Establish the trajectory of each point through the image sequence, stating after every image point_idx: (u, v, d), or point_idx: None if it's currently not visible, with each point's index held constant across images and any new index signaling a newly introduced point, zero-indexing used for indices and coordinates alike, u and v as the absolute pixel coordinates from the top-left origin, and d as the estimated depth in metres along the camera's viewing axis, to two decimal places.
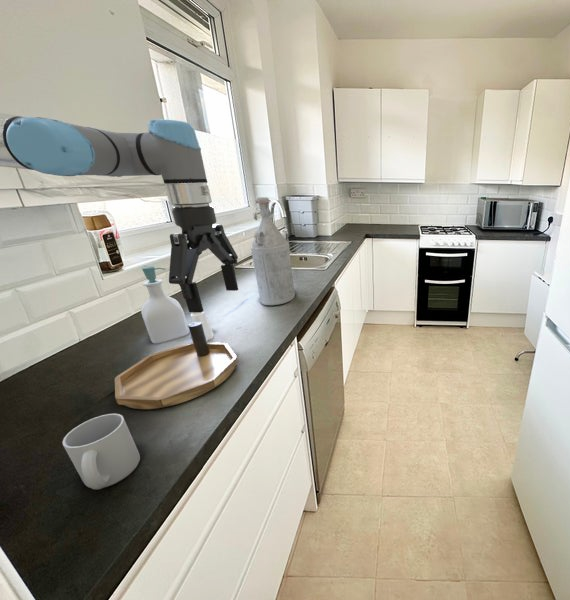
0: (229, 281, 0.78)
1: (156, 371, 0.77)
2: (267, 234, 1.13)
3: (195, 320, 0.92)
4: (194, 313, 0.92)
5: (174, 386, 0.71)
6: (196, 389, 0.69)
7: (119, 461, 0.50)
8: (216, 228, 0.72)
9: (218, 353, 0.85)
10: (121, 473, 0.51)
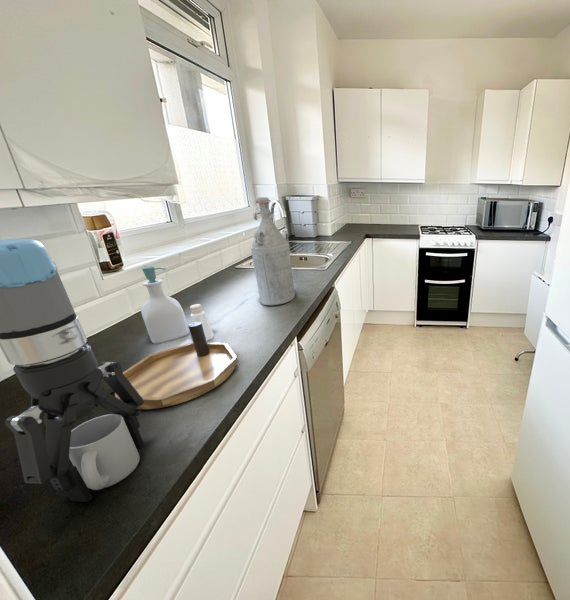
0: None
1: (156, 371, 0.77)
2: (267, 234, 1.13)
3: (195, 320, 0.92)
4: (194, 313, 0.92)
5: (174, 386, 0.71)
6: (196, 389, 0.69)
7: (119, 461, 0.50)
8: (108, 368, 0.50)
9: (218, 353, 0.85)
10: (121, 473, 0.51)
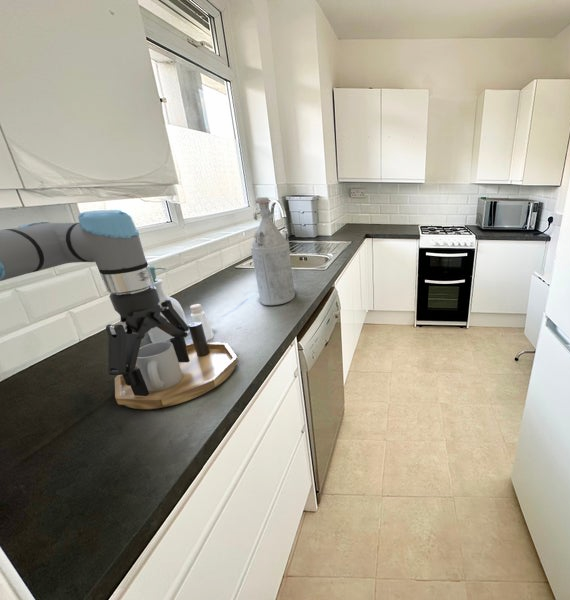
0: (179, 354, 0.76)
1: None
2: (267, 234, 1.13)
3: (195, 320, 0.92)
4: (194, 313, 0.92)
5: (174, 386, 0.71)
6: (196, 389, 0.69)
7: (170, 372, 0.70)
8: (163, 304, 0.71)
9: (218, 353, 0.85)
10: (171, 382, 0.71)
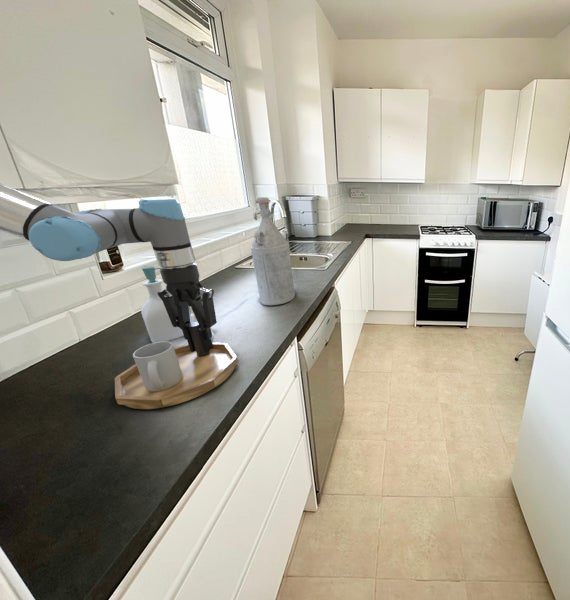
0: None
1: None
2: (267, 234, 1.13)
3: (195, 320, 0.92)
4: None
5: (174, 386, 0.71)
6: (196, 389, 0.69)
7: (170, 372, 0.70)
8: (204, 292, 0.77)
9: (218, 353, 0.85)
10: (171, 382, 0.71)
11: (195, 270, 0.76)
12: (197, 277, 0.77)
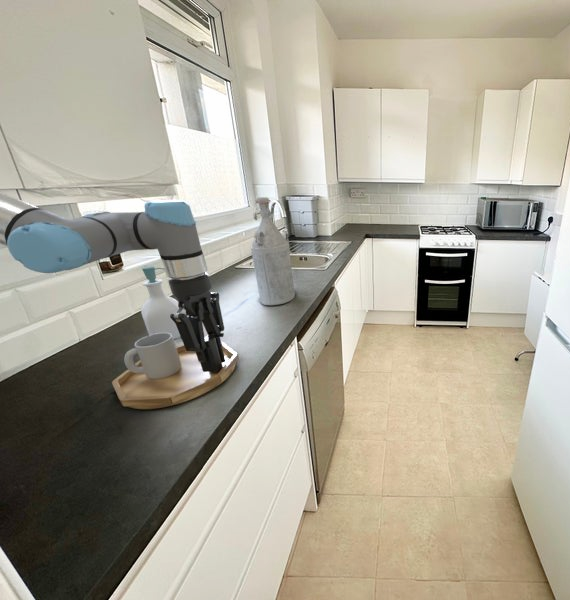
0: None
1: (194, 358, 0.82)
2: (267, 234, 1.13)
3: None
4: None
5: (149, 380, 0.74)
6: None
7: (145, 367, 0.72)
8: None
9: None
10: (147, 374, 0.73)
11: (179, 287, 0.65)
12: (182, 295, 0.65)
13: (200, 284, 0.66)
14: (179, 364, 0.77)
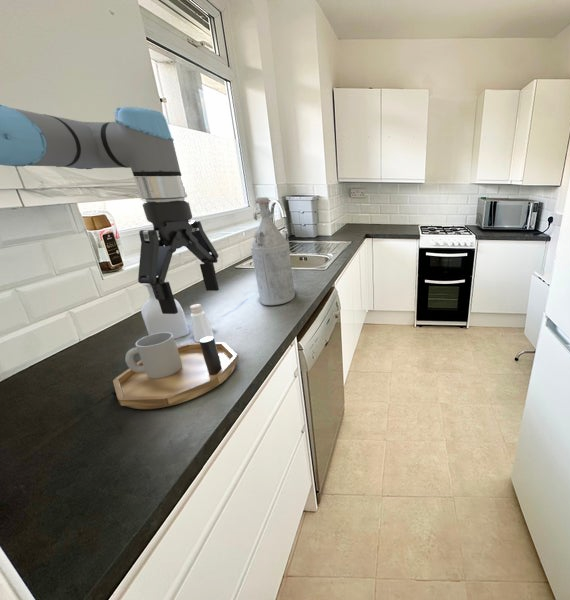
0: None
1: (195, 358, 0.82)
2: (267, 234, 1.13)
3: (195, 320, 0.92)
4: (194, 313, 0.92)
5: (150, 379, 0.74)
6: (117, 395, 0.67)
7: (146, 366, 0.73)
8: None
9: None
10: (148, 374, 0.74)
11: (154, 210, 0.58)
12: (158, 219, 0.59)
13: (178, 208, 0.60)
14: (179, 364, 0.77)
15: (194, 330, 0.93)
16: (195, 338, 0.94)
